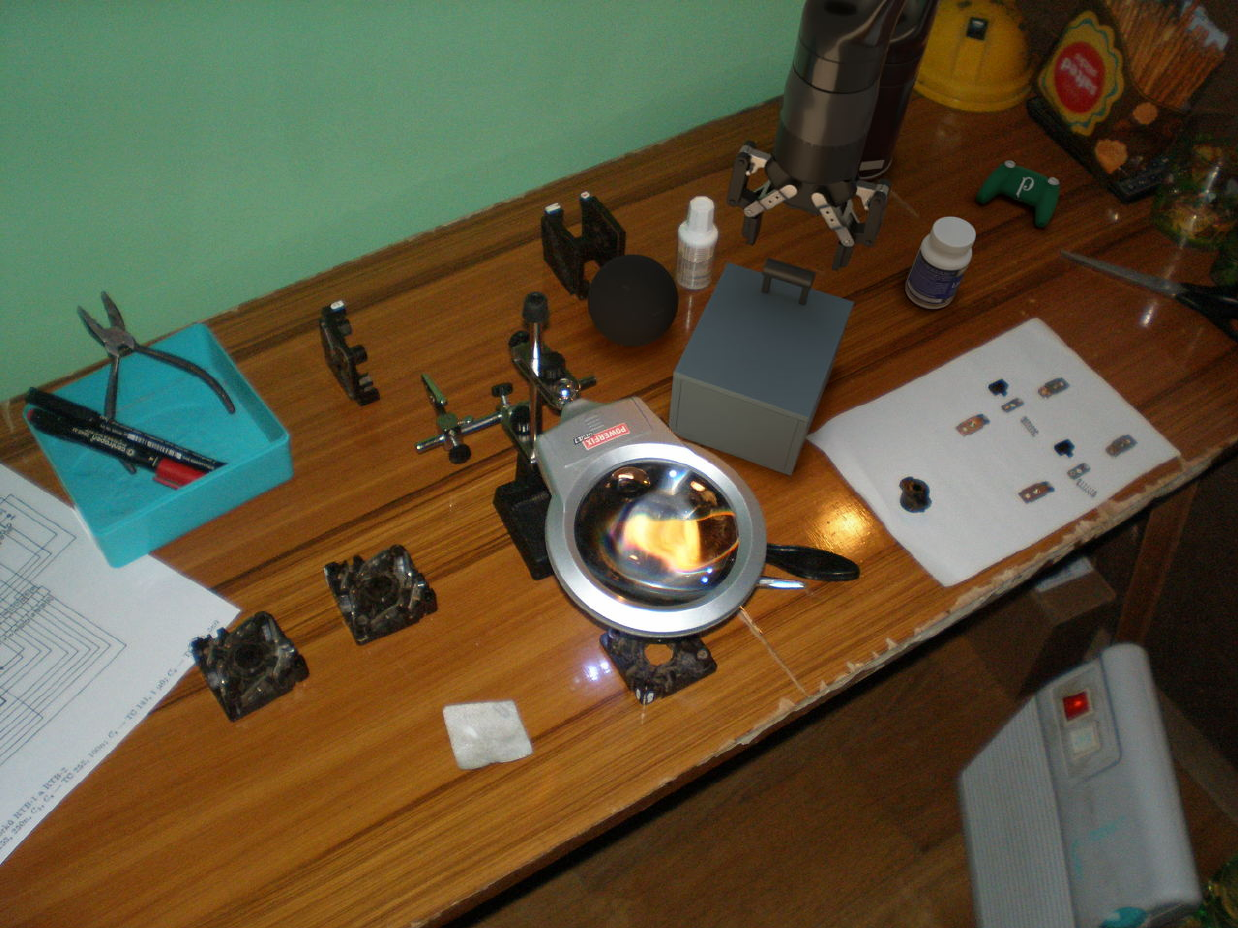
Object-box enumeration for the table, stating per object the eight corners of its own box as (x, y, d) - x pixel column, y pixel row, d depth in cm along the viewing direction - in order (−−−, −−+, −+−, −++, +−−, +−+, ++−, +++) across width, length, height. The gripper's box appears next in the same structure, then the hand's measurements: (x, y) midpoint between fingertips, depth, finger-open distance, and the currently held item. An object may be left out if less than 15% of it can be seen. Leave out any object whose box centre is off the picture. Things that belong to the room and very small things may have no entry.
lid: (726, 267, 104) (732, 232, 99) (852, 307, 101) (864, 273, 97) (673, 376, 96) (676, 344, 92) (807, 423, 93) (817, 391, 89)
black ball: (662, 374, 109) (667, 315, 100) (576, 352, 110) (574, 292, 102) (685, 308, 114) (692, 246, 105) (603, 288, 115) (603, 226, 107)
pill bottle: (952, 314, 114) (980, 254, 105) (902, 306, 114) (926, 245, 106) (953, 278, 117) (981, 216, 108) (905, 270, 117) (928, 208, 109)
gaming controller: (1043, 231, 123) (1068, 186, 122) (1044, 228, 120) (1070, 181, 118) (974, 203, 126) (998, 158, 124) (973, 199, 122) (997, 153, 121)
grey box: (714, 333, 112) (723, 273, 103) (831, 371, 109) (850, 313, 101) (667, 432, 105) (673, 377, 96) (791, 476, 102) (807, 423, 93)
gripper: (921, 108, 82) (875, 247, 96) (759, 65, 85) (737, 206, 98) (898, 165, 78) (854, 301, 92) (730, 117, 81) (711, 256, 95)
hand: (794, 252), depth 95 cm, fingers open, 8 cm apart
